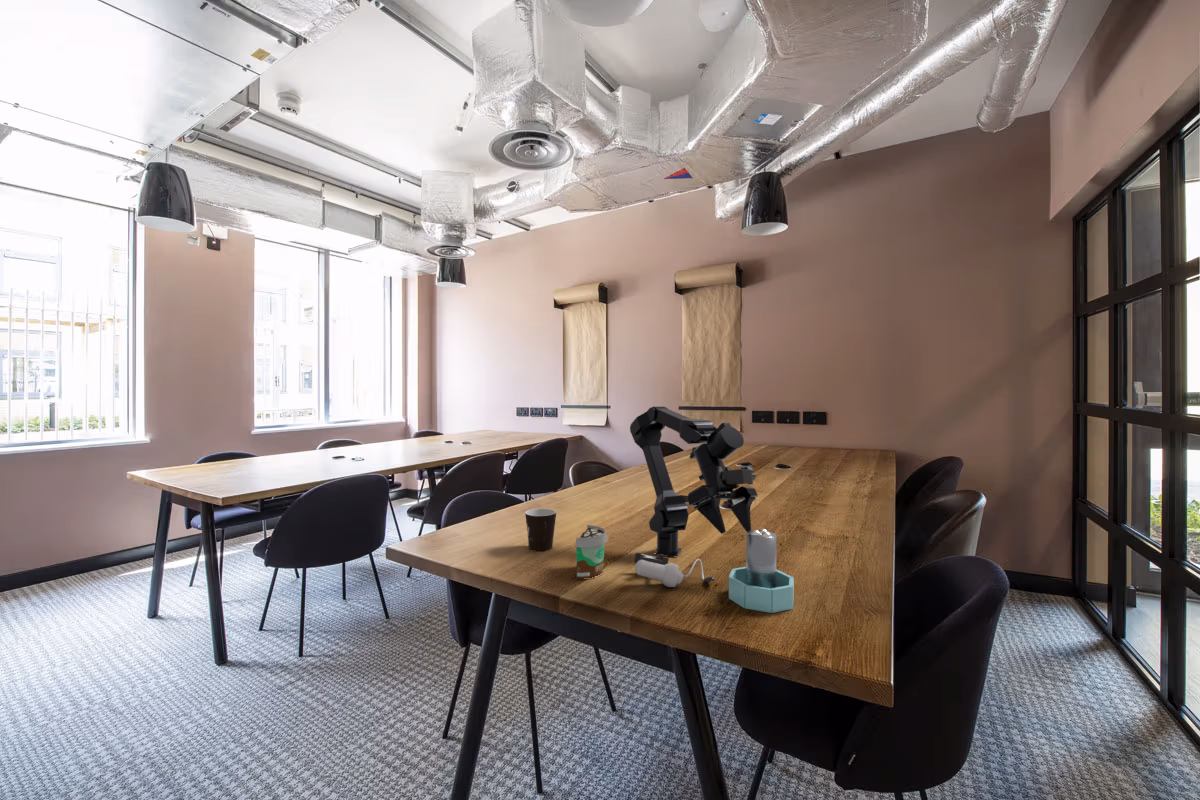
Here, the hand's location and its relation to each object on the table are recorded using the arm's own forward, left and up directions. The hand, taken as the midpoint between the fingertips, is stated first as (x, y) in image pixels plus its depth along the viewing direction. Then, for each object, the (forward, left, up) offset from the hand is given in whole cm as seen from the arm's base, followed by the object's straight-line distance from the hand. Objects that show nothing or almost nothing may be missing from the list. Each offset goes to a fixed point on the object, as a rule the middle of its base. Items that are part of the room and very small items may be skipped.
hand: (736, 532), depth 108 cm
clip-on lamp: (+1, -14, -13) cm, 19 cm away
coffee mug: (-6, -53, -13) cm, 55 cm away
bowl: (+3, +6, -13) cm, 14 cm away
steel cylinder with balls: (+3, +5, -12) cm, 13 cm away
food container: (+4, -32, -13) cm, 35 cm away
